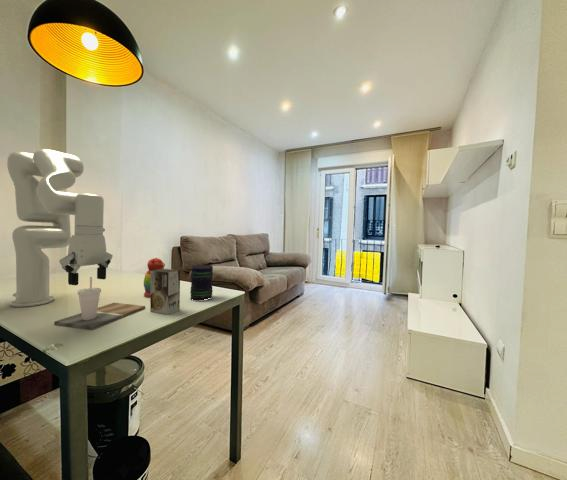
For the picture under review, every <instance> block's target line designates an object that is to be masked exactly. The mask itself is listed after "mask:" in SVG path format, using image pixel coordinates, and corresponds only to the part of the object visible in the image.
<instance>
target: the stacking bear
mask: <svg viewBox="0 0 567 480" xmlns="http://www.w3.org/2000/svg"><path fill="white" fill-rule="evenodd" d="M146 265H147V269H148V270H147V271H146V272H145V274H144V278H143V287H144V293H143V296H144V297H145V298H148V299H150V271H152V270H157V269H162V268H163V269H165V266H166V264H165V263H164V262H163V261H162V259H160V258H157V257H154V258H151V259H149V260H148V261H147V264H146Z"/></svg>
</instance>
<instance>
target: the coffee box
mask: <svg viewBox="0 0 567 480" xmlns="http://www.w3.org/2000/svg"><path fill="white" fill-rule="evenodd" d="M180 296H181V269H173V268H162V269H157V270H152V271H150V298H149V299H150V302H149V303H150V309H149V310H150V312H151V313H158V314H163V315H171V314H173V313H176V312H179V311H180V302H181V301H180V300H181V297H180ZM178 310H179V311H178Z"/></svg>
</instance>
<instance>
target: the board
mask: <svg viewBox="0 0 567 480" xmlns="http://www.w3.org/2000/svg"><path fill="white" fill-rule="evenodd" d="M145 309H146V305H138V304H130V303H129V304H128V303H123V302H122V303H119V302H112V303H108V304H105V305H102V306H98V309H97V315H96V318H94V319H90V320H83V319H82V313H81V312H80V313H77V314H74V315H70V316H67V317H64V318H61V319H58V320H55V321H54V322H53V323H54V324H53V325H56V326H63V327H70V328H76V329H85V330H95V329H98V328H101V327H103V326H105V325H108V324H111V323H113V322H115V321H117V320H120V319H122V318H125V317H127V316H130V315H132V314H135V313H137V312H140V311H143V310H145Z"/></svg>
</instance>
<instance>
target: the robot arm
mask: <svg viewBox="0 0 567 480" xmlns="http://www.w3.org/2000/svg"><path fill="white" fill-rule="evenodd" d="M6 166H7V170H8V174H9V176H10V179H11V181H12V183H13V185H14V192H15V193H14V195H15V206H16V215H17V218H18V219H19V220H20V221H23V222H26V223H42V224H43V223H44V224H45V223H46V224H52V225H37V224H35V225H30V224H28V225H21V226H18V227H16V228H15V229H14V230H13V231H12V233H11V234H12V243H13V246H14V252H15V270H16V271H15V273H16V275H15V276H16V277H15V279H16V280H15V281H16V284H15V285H16V287H15V290H16V291H15V293H13V294H12V297H15V300H13V301H11V302H10V306H11V307H15V308H24V307H25V308H26V307H34V306H40V305H45V304H49V303H52V302H53V301H55V296H53V295H50V259H49V257H48V255H47V254H46V253H45V252H44V251H43V249H61V248H62V249H63V248H66V247H68V248H67V249H68V250H67V255H65V256H64V257H62V258H60V259H59V261H58V262H59V264H60V266H61V268H62V269H63V270H64V271H65V272H66V273H67V282H68V285H69V286H78V285H79V277H80V276H79V272H77V271H78V270H79V269H80V268H81V267H86V266H94V265H97V268H96V269H97V271H96V279H98V280H106V278H107V269H108V268H109V265H110V264H111V262H112V261H111V260H112V259H113V254H111V253H109V252H107V244H106V238H105V235H104V232H105V231H106V229H105V228H104V209H105V208H104V205H105V201H104V198H103V196H101V195H99V194H95V193H94V194H93V193H76V192H69V191H68V192H67V191H63V190H67V189H69V188H71V187H72V186H74V185H75V183H76V178H78V177H81V176H82V175H83V173H84V170H85V169H84V163H83V161H82V159H80V158H79V157H78V156H76V155H74V154H70V153H65V152H62V151H57V150H54V149H48V148H42V149H38V150H36V151H34V152H33V153H32V152H26V151H13V152H11V153H9V155H8V157H7V163H6ZM35 176H36V177H41V179H40V180H39V179H37V178H36V177H35ZM70 216H74V234H72V232H71V217H70Z"/></svg>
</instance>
